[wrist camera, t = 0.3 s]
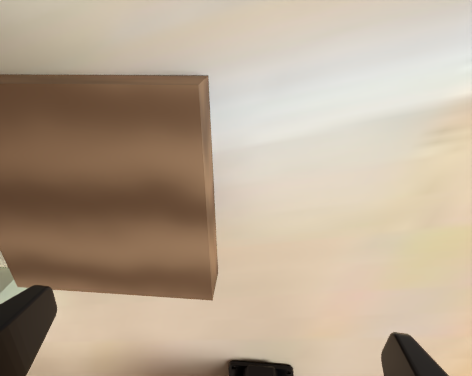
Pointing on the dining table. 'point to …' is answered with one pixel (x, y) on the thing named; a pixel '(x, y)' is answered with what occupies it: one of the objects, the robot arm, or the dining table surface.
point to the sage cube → (8, 285)
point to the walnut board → (108, 184)
